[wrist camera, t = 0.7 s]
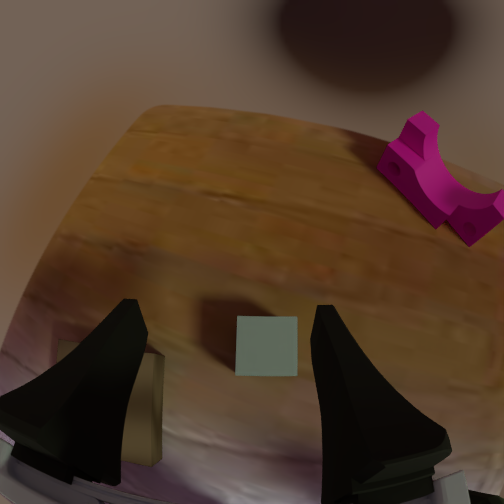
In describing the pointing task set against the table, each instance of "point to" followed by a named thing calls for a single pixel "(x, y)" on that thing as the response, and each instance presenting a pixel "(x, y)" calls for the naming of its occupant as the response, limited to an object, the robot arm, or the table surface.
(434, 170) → the toy block
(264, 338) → the gray cube
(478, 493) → the potion bottle
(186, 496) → the table surface
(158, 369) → the base block
